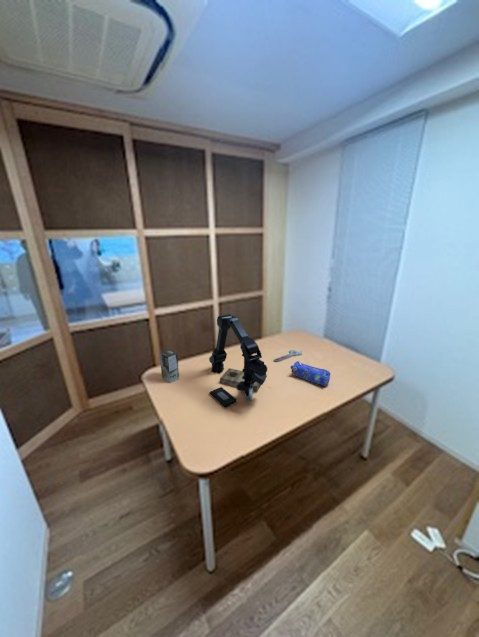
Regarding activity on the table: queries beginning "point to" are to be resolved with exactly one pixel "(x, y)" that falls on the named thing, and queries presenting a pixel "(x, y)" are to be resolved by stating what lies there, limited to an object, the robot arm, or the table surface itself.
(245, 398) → the steel peg
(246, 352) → the robot arm
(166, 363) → the coffee box
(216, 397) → the vhs tape
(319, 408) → the table surface
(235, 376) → the hitch block
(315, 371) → the pencil case
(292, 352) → the adjustable wrench
